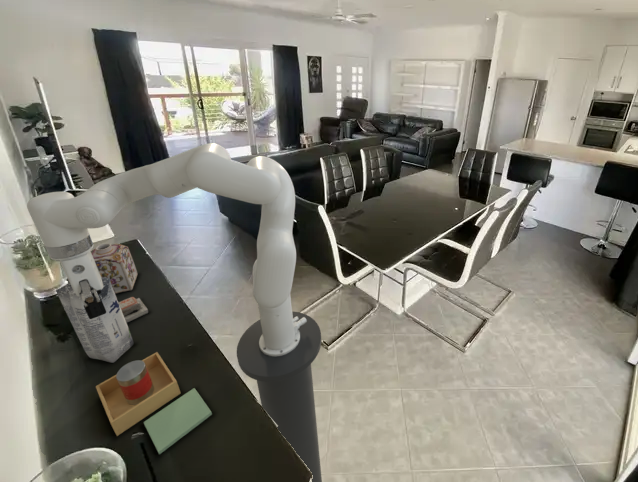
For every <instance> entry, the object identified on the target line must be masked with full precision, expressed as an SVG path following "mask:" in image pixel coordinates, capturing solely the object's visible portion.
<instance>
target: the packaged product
mask: <svg viewBox="0 0 638 482" xmlns="http://www.w3.org/2000/svg"><path fill="white" fill-rule="evenodd" d="M118 303H119V305H120V308H121V310H122V313H123V315H124V318H125V320H126V323H127V324H128V323H130V322H131V321H134V320H136V319H138V318H140V317H142V316H145V315H147V314H148V313H149V309H148V308H147V306H146V305H145V304H144V302H143V300H142V299H141V298H140V297H138V298H135V297H134V296H130V297H128V298H125V299H123V300H120V301H118Z"/></svg>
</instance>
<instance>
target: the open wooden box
mask: <svg viewBox="0 0 638 482" xmlns="http://www.w3.org/2000/svg"><path fill="white" fill-rule="evenodd" d="M141 361H143V362H144V363H145V365H146V368H147V370H148V372H149V375H150V378H151V380H152V383H153V386H154V391H153V393H152V395H151V396H150V397H148V398H147V399H145V400H144V401H142V402H140V403H139V404H137V405H130V404H128V403H127V401H126V398H125V397H124V395H123V392H122V390H121V388H120V386H119V383H118V380H117V378H116V375H117V374H115V375H113V376H111V377H110V378H108V379H105V380H104V381H102V382H100V383H99V384H97V385H96V386H95V389H96V392H97V394H98V397H99V399H100V401H101V403H102V406H103V408H104V411H105V414H106V416H107V419H108V421H109V423H110V425H111V427H112V429H113V431H114V433H115V435H116V437H118V436H120V435H121V434H123V433H124V432H126V431H128V429H131V428H132V427H133V426H135V425H136V424H138V423H139V422H140V421H142V420H143V419H145V418H146V417H148V416H150V415H151V414H152V413H154V412H155V411H157V410H158V409H160V408H161V407H163V406H164V405H166V404H167V403H169V402H170V401H172V400H173V399H174V398H176V397H178V396H179V395H181V390H180V387H179V384H178V381H177V379H176V378H175V377H174V375H173V373H172V372H171V371H170V369H169V368H168V365H166V363H165V361H164V360H163V357H161V355H160V354H159V352H158V351H156V352H154V353H152V354H151V355H149V356H147V357H145V358H144V359H142V360H141Z"/></svg>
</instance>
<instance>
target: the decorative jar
mask: <svg viewBox="0 0 638 482" xmlns="http://www.w3.org/2000/svg"><path fill="white" fill-rule="evenodd" d="M91 254H92V256H93V258H94V261H95V263H96V266H97V268H98V270H99V273H100V275H101V277H105V278H110V281H111V285H112V287H113V290H114V292H115V295H117V294H119V293H124V292H130V291H132V290H133V289H134V286H135V283H136V280H137V277H138V274H139V273H138V270H137V267H136V265H135V262H134V258H133V256H132V254H131V251H130V249H129V246H127V245H124V244H120V243H101V244H99V245H97V246H95V248H93V249H92V250H91Z"/></svg>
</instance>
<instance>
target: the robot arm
mask: <svg viewBox="0 0 638 482" xmlns="http://www.w3.org/2000/svg"><path fill="white" fill-rule="evenodd" d="M194 189H199V190H202V191H204V192H207V193H211V194H214V195H216V196H222V197H225V198H229V199H233V200H237V201H240V202H245V203H249V204H253V205H261V213H260V214H261V215H260V222H259V229H258V234H257V239H256V259H255V261H254V263H253V265H252V272H251V273H252V295H253V299H254V300H255V302H256V304H257V308H258V314H259V320H261V326H262V332H263V334H262V335H261V337H260V340H259V346H260V349H261V351H262V352H263V353H264V354H266V355H268V356H272V357H277V356H282V355H285V354H287V353H289V352H291V351H292V350H293V349H295V347H296V346H297V345H298V343H299V341H300V332H299V330H298V329H299V328H300V326H301V325H303V324H305V323H306V322H307V320H306V318H305V317H303V318H302V319H300V320H299V318H298V317H297V316H296V317H295V318H293V314H292V311H293V307H292V296H291V292H292V288H293V283H294V276H295V270H296V263H297V249H296V244H295V240H294V234H293V228H294V221H295V210H296V191H295V187H294V183H293V180H292V179H291V176H290V175H289V173H288V171H287V170H286V169H285V168H284V167H283V166H282V165H281V164H280V163H279V162H277V160H275V159H273V158H271V157H268V156H264V155H259V156H255V157H252V158H251V159H250V160H249V161H248V162H247V163H246V164H245V163H241V162H238V161H235V160H232V157H231V155H230V153H229V151H228V150H227V149H226V148H225V147H224V146H222V145H220V144H218V143H213V142H210V143H205V144H202V145H198V146H196V147H193V148H191V149H188V150H185V151H182V152H181V153H178V154H175V155H173V156H170V157H167V158H164V159H162V160H159V161H155V162H154V163H151V164H146V165H144V166H143V165H142V166H140V167H136V168H132V169H129V170H126V171H124V172H121V173H118V174H116V175H113V176H110V177H107V178H106V179H103V180H101V181H99V182H97V183H95V184H93V185H92V186H90V187H89V188H88V189H86V190H85V191H84V192H83V193H81V194H79V195H77V196H74V195H73V194H72V193H71V192H67V191H52V192H45V193H42V194H39V195H35V196H34V197H32V198H30V199H29V200H28V201H27V203H26V209H27V211H28V213H29V216H30V217H31V219H32V222H33V224H34V226H35V228H36V230H37V232H38V234H39V237H40V238H41V242H42V243H43V245H44V248H45V250H46V252H47V254H48V256H49V258H50V260H52V261H56V262H59V263H60V265H61V267H62V269H63V272H64V274H65V276H66V279H67V280H68V283H70V284H71V286H72V288H73V290H74V292H75V294H76V295H77V296H78V297H82V300H83V303H84V308H85V310H86V313H87V315H88V317H89V319H93V318H96V317H98V316H101V315H103V314H106V309H105V307H104V305H103V302H102V300H101V299H99V296H98V294H100V293H101V290H102V289H103V287H104V286H103V282H102V279H101V275H100V273H99V270H98V268H97V266H96V263H95V261H94V258H93V256H92V254H91V251H92V250H94V247H95V245H94V243H93V240H92V237H91V234H90V232H89V230H88V229H99V228H103V227H106V226H107V225H109V224H110V223H111V222H112V221H113V220H114V219H115V218H116V216H117V215H118V214H119V213H120V211H122V209H123V208H124V207H126V206H128V205H130V204H132V203H134V202H137V201H141V200H142V199H145V198H148V197H151V196H159V195H160V196H162V197H164V198H167V199H170V198H174V197H177V196H180V195H182V194H185V193H187V192H188V191H191V190H194ZM100 289H101V290H100ZM94 296H95V297H94ZM297 320H299V321H298V322H296V321H297Z"/></svg>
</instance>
